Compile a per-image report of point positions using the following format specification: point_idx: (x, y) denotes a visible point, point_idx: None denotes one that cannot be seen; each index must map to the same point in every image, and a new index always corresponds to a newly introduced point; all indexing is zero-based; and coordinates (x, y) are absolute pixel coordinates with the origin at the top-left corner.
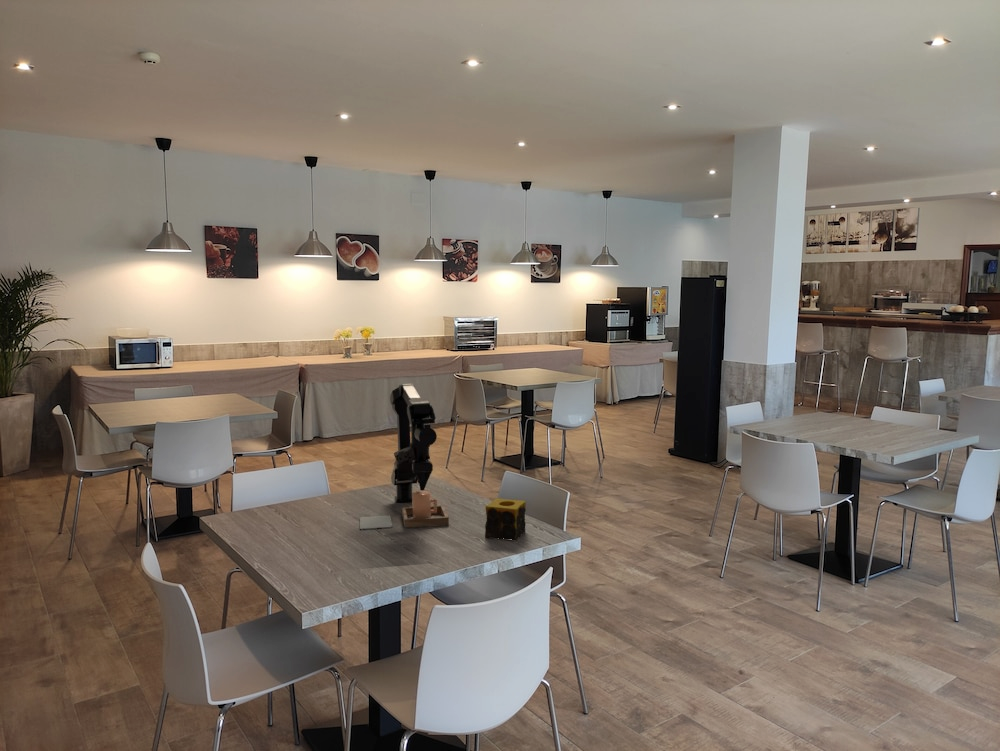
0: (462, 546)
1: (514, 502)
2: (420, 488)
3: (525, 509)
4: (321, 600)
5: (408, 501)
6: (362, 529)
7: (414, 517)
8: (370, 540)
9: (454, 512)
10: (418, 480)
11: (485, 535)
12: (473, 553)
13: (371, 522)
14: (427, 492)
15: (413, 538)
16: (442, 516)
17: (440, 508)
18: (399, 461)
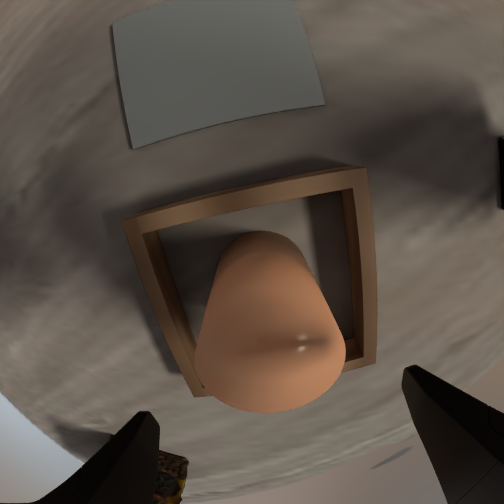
0: (44, 387)
1: None
2: (128, 423)
3: None
4: None
5: (502, 188)
6: (114, 31)
7: (227, 252)
8: (13, 118)
9: (355, 376)
10: (87, 474)
11: (109, 439)
12: (26, 396)
13: (199, 34)
14: (297, 395)
15: (41, 267)
16: None
17: (360, 349)
18: None
